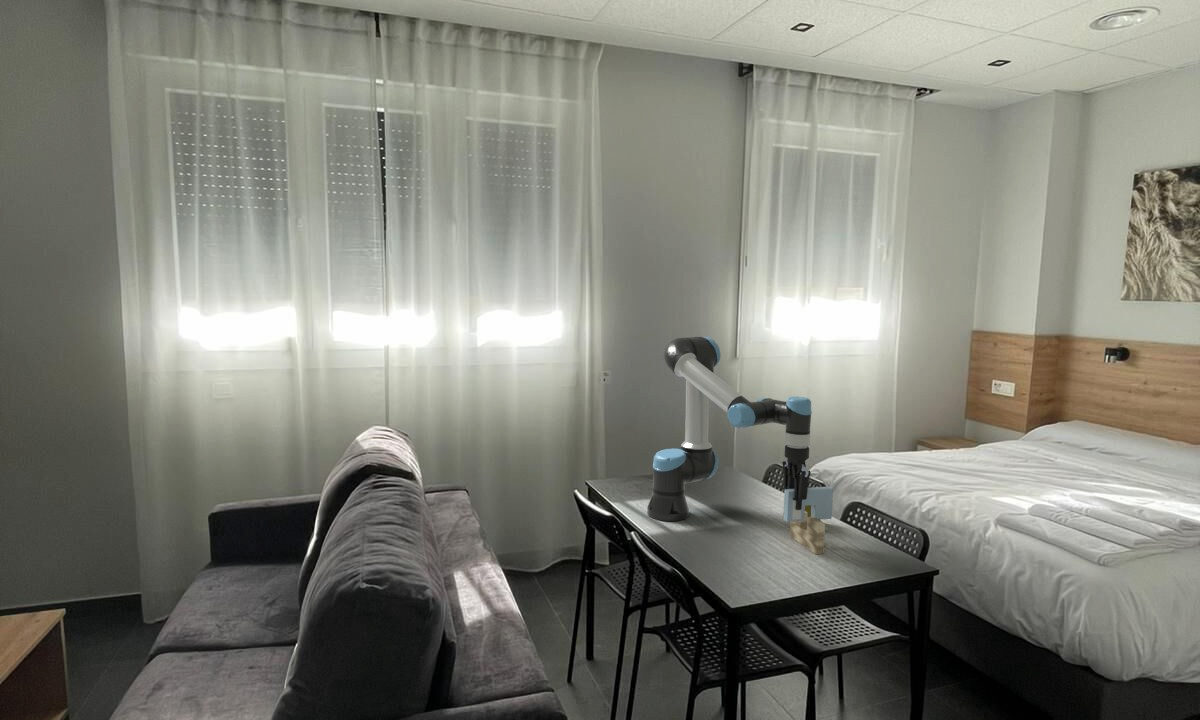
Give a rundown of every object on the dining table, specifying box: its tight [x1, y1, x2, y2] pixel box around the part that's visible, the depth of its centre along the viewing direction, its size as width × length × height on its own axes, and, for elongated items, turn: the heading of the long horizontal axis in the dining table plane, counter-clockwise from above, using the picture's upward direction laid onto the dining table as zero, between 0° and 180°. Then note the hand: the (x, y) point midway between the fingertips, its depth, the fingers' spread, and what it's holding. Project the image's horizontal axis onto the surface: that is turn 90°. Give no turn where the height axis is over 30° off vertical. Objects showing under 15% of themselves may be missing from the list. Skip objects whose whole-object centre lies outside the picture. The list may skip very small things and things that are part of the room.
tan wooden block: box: [789, 511, 826, 555], centre depth 212 cm, size 16×2×10 cm, turn 14°
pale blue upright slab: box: [782, 486, 834, 523], centre depth 211 cm, size 16×2×10 cm, turn 104°
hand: (793, 517), depth 210 cm, fingers closed on pale blue upright slab, 2 cm apart
